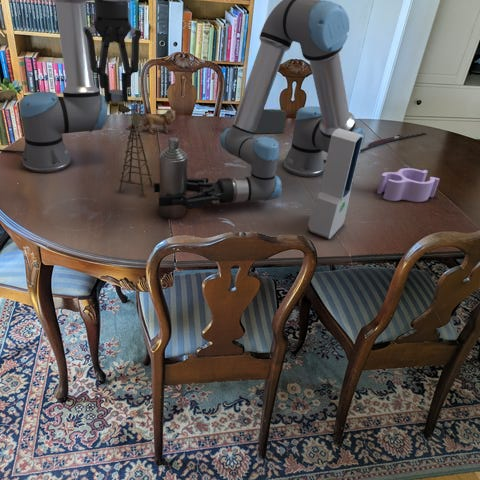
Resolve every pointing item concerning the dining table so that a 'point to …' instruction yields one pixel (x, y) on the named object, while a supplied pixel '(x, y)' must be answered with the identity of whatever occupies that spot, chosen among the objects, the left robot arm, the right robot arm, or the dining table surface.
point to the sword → (386, 139)
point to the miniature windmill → (134, 129)
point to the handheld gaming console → (271, 121)
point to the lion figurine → (160, 120)
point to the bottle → (173, 177)
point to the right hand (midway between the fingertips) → (156, 194)
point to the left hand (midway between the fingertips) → (116, 100)
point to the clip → (407, 185)
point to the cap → (116, 95)
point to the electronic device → (336, 183)
